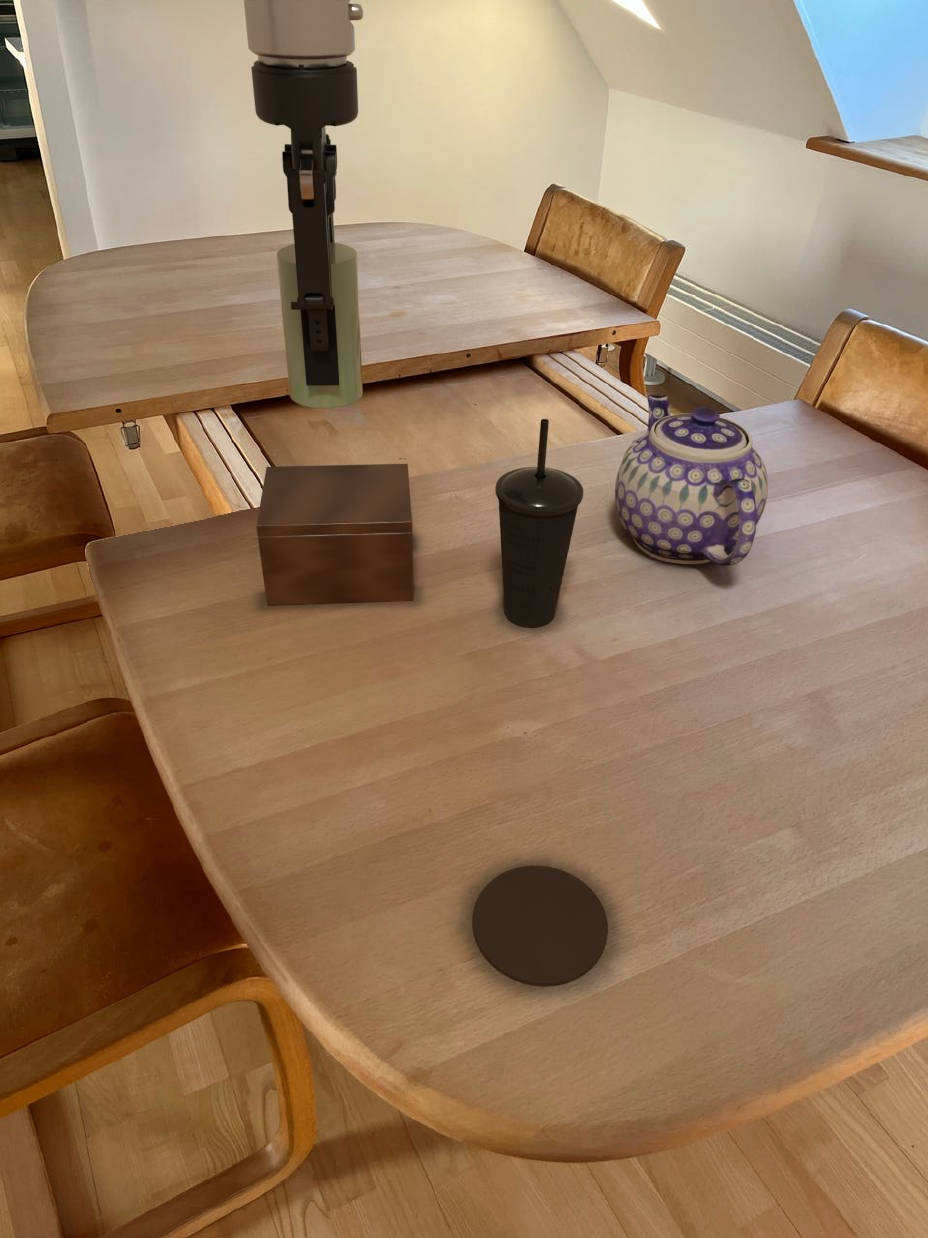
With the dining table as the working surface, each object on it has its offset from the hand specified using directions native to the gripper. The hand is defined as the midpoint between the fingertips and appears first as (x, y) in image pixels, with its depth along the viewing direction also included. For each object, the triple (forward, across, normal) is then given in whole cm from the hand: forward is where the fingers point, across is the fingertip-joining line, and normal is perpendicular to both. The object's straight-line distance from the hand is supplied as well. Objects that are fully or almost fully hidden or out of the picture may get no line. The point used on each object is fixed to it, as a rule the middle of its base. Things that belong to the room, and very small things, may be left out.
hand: (324, 366), depth 81 cm
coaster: (+22, -42, -14) cm, 49 cm away
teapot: (+22, +4, -36) cm, 42 cm away
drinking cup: (+22, -8, -18) cm, 29 cm away
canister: (+2, 0, 0) cm, 2 cm away
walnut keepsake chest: (+22, 0, 0) cm, 22 cm away
